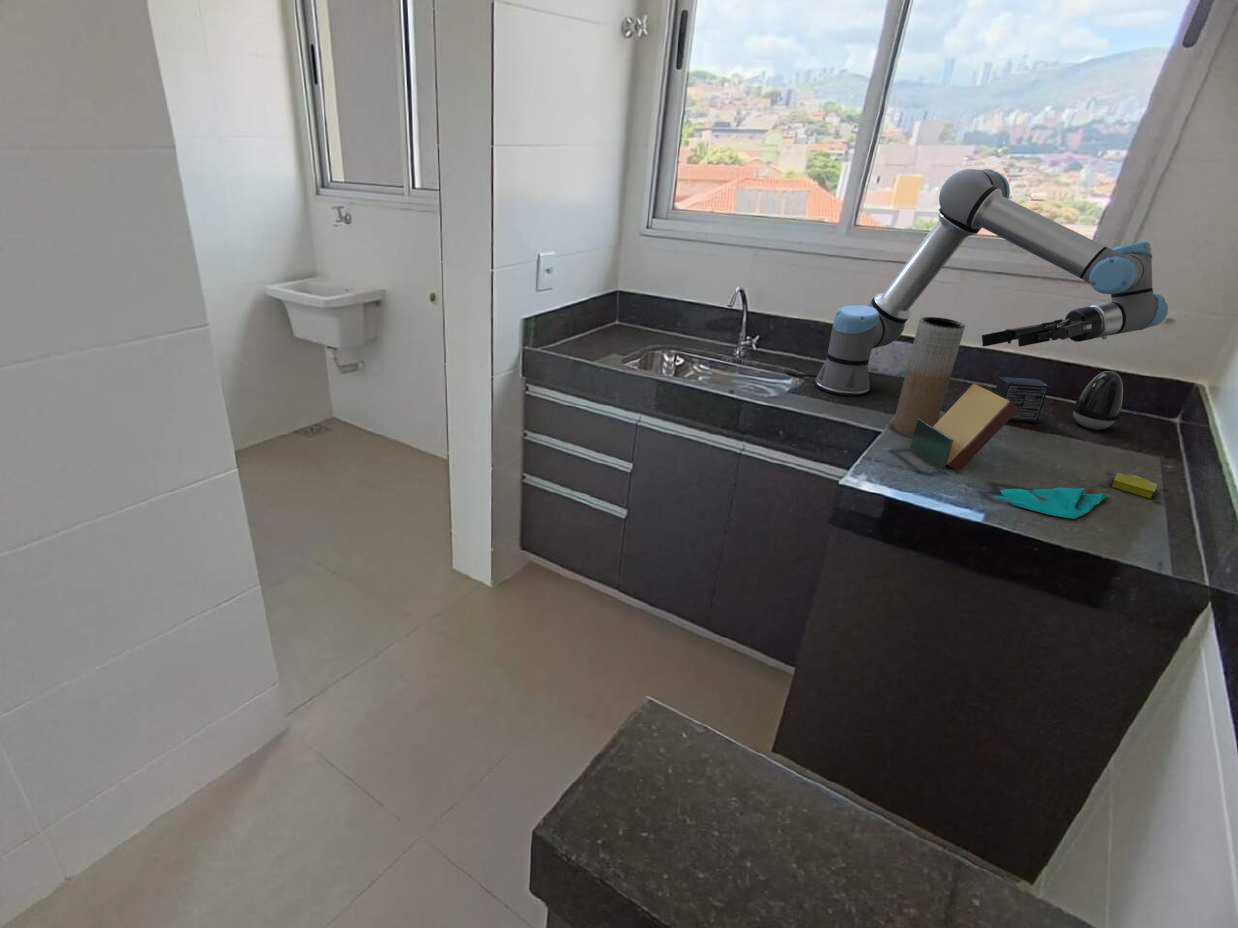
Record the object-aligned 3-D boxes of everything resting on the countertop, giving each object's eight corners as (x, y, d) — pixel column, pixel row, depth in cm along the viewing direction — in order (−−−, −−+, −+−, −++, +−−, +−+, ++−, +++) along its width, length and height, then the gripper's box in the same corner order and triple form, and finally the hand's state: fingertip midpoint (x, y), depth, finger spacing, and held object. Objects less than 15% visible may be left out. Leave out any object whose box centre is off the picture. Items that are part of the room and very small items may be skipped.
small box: (1026, 414, 182) (1039, 378, 177) (1037, 423, 176) (1051, 386, 171) (987, 411, 182) (998, 375, 178) (997, 420, 177) (1009, 382, 172)
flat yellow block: (1102, 486, 142) (1107, 474, 141) (1109, 474, 149) (1114, 462, 147) (1158, 503, 136) (1164, 491, 135) (1163, 489, 143) (1169, 478, 141)
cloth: (998, 513, 129) (1002, 503, 128) (972, 481, 141) (975, 471, 140) (1137, 526, 127) (1142, 516, 126) (1098, 493, 139) (1102, 483, 138)
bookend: (921, 474, 143) (931, 440, 140) (891, 450, 154) (899, 419, 150) (943, 473, 144) (953, 439, 141) (911, 450, 155) (920, 418, 151)
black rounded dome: (1116, 426, 177) (1138, 372, 170) (1109, 436, 170) (1132, 380, 163) (1072, 415, 183) (1092, 363, 176) (1064, 424, 176) (1085, 370, 169)
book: (949, 465, 144) (1011, 401, 139) (916, 443, 154) (973, 383, 150) (957, 472, 145) (1019, 409, 140) (924, 449, 156) (981, 390, 151)
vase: (907, 439, 161) (937, 327, 149) (884, 423, 169) (911, 316, 157) (942, 438, 163) (974, 327, 151) (918, 422, 171) (947, 316, 159)
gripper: (1136, 338, 139) (1037, 357, 139) (1054, 339, 163) (971, 356, 163) (1134, 302, 137) (1035, 322, 137) (1052, 309, 162) (968, 325, 162)
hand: (1000, 340), depth 150 cm, fingers open, 13 cm apart
